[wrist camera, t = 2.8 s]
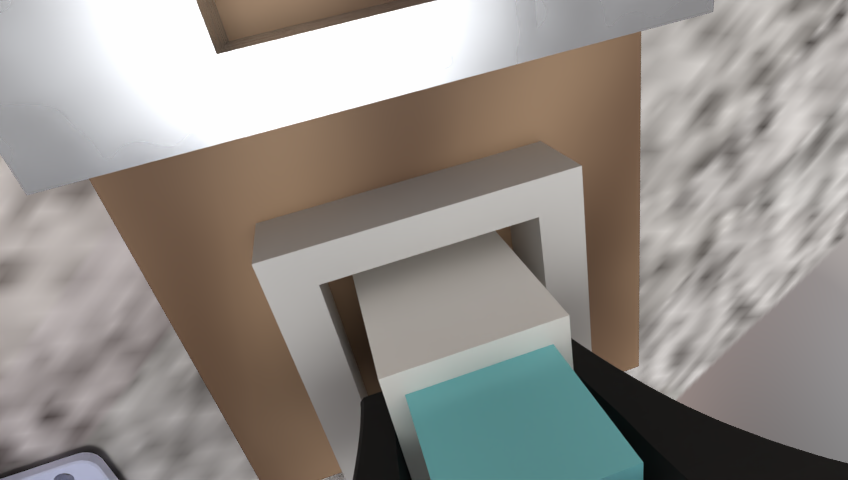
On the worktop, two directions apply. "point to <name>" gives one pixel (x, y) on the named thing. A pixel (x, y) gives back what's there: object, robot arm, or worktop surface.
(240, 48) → the port
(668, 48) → the worktop surface
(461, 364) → the plug
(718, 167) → the worktop surface
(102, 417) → the worktop surface
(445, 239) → the grey rectangular frame
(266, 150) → the panel board
